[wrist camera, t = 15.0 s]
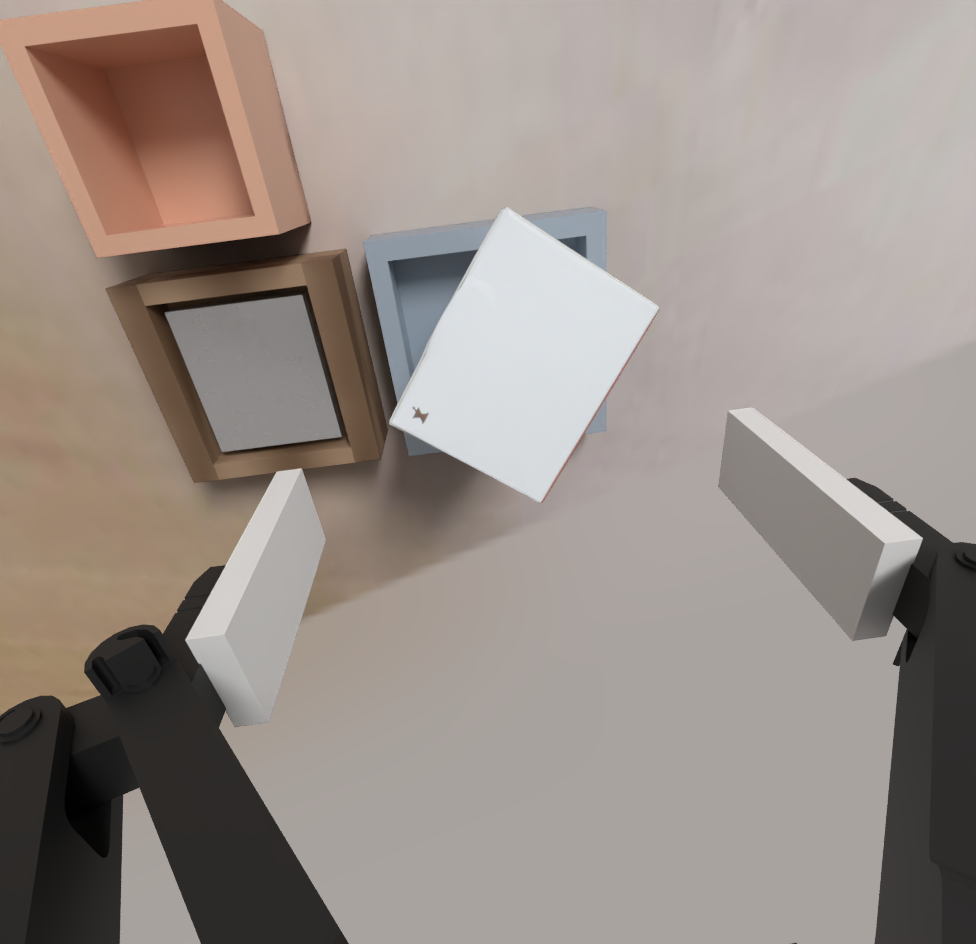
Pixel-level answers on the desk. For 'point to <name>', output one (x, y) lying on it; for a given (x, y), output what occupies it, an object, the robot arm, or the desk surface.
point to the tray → (452, 283)
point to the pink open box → (160, 122)
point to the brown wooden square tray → (314, 272)
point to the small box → (522, 357)
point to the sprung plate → (259, 370)
